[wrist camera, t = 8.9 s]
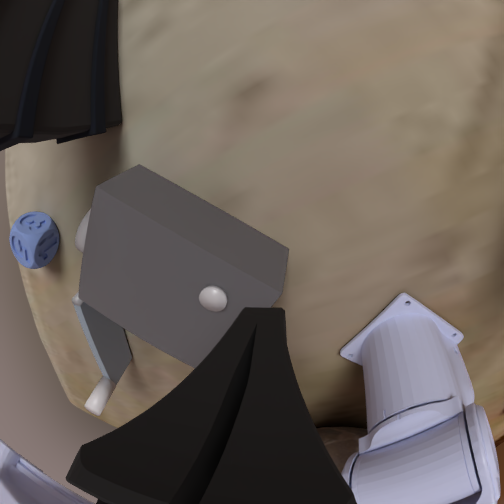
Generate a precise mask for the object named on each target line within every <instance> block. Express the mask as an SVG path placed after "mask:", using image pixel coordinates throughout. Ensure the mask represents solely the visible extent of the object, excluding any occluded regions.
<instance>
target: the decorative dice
mask: <svg viewBox="0 0 504 504" xmlns="http://www.w3.org/2000/svg"><path fill="white" fill-rule="evenodd" d="M10 246H11V249H12V251H13V254H14V255H15V257H16V258H17V260H18V261H19V262H20V263H21V264H22V265H23V266H25V267H27V268H31V269H37V268H41V267H44V266H46V265H47V264H48V263H49V262H50V261H51V260H52V259H53V257H54V256H55V254H56V252H57V249H58V246H59V233H58V229H57V227H56V225H55V223H54V221H53V220H52V219H51V218H50V217H49V216H48V215H47V214H45V213H42V212H29V213H26V214H23V215H22V216H20V217H19V218H18V219H17V220H16V221H15V223H14V225H13V227H12V229H11V232H10Z"/></svg>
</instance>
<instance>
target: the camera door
mask: <svg viewBox="0 0 504 504" xmlns="http://www.w3.org/2000/svg"><path fill="white" fill-rule="evenodd" d="M78 294H79V292H78V293H77V294H76V295H75V296H74V297H73V298H72V302H73V304H74V307H75V310H76V313H77V315H78V318H79V321H80V323H81V326H82V329H83V331H84V334H85V336H86V338H87V341H88V343H89V346H90V348H91V350H92V352H93V355H94V357H95V359H96V361H97V364H98V366H99V368H100V370H101V372H102V374H103V377H102V378H101V379H100V381H99V382H98V384H97V386H96V387H95V389H94V390H93V392H92V394H91V395H90V397H89V399H88V400H87V402H86V404H85V405H84V406H85V408H86V409H87V410H88V411H90V412H91V413H93V414H95V415H97V416H100V414H101V412H102V411H103V409H104V407H105V405H106V403H107V402H108V400H109V398H110V396H111V395H112V393H113V391H114V389H115V388H116V385H117V383H118V381H119V380H120V378H121V376H122V374H123V373H124V371H125V369H126V368H127V366H128V364H129V363H130V361H131V359H132V356H131V353H130V350H129V346H128V343H127V340H126V337H125V333H124V330H123V327H121V326H120V325H118V324H116V323H115V322H113V321H112V320H110V319H109V318H107V317H106V316H104V315H103V314H101V313H100V312H98V311H97V310H95V309H94V308H92V307H91V306H89V305H88V304H86V303H85V302H84V301H82V300H81V299H79V298H78Z"/></svg>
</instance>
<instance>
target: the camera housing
mask: <svg viewBox="0 0 504 504" xmlns="http://www.w3.org/2000/svg"><path fill="white" fill-rule="evenodd" d="M75 246H76V248H77V249H78V250H79V251H81V252H82V253H83V258H82V266H81V274H80V284H79V294H78V298H79V299H81V300H82V301H84V302H85V303H86V304H88V305H89V306H91V307H92V308H94V309H95V310H97V311H98V312H100V313H101V314H103V315H104V316H106V317H107V318H109V319H110V320H112V321H113V322H115V323H116V324H118V325H120V326H121V327H123V328H124V329H126V330H128V331H129V332H131V333H132V334H134V335H136V336H137V337H139V338H141V339H142V340H144V341H146V342H148V343H149V344H151V345H153V346H155V347H156V348H158V349H160V350H162V351H163V352H165V353H167V354H169V355H171V356H173V357H174V358H176V359H178V360H180V361H182V362H184V363H186V364H188V365H190V366H192V367H194V368H196V367H197V366H198V365H199V364H200V363H201V362H202V361H203V360H204V358H205V357H206V356H207V355H208V354H209V353H210V352H211V350H212V349H213V348H214V347H215V346H216V344H217V343H218V342H219V341H220V339H221V338H222V337H223V336H224V334H225V333H226V332H227V330H228V329H229V328H230V326H231V325H232V324H233V322H234V321H235V319H236V318H237V317H238V315H239V314H240V312H241V311H242V309H244V308H245V307H260V308H271V306H272V305H273V304H274V303H275V301H276V300H277V299H278V298H279V297H280V295H281V294H282V292H283V285H284V279H285V272H286V266H287V259H288V252H289V249H288V248H287V247H285V246H283V245H282V244H280V243H278V242H276V241H275V240H273V239H271V238H270V237H268V236H266V235H264V234H263V233H261V232H259V231H257V230H256V229H254V228H252V227H251V226H249V225H247V224H245V223H244V222H242V221H240V220H238V219H237V218H235V217H233V216H231V215H230V214H228V213H226V212H224V211H222V210H221V209H219V208H217V207H215V206H214V205H212V204H210V203H208V202H207V201H205V200H203V199H201V198H199V197H198V196H196V195H194V194H192V193H190V192H189V191H187V190H185V189H183V188H181V187H180V186H178V185H176V184H174V183H172V182H171V181H169V180H167V179H165V178H163V177H162V176H160V175H158V174H156V173H154V172H152V171H151V170H149V169H147V168H145V167H143V166H141V165H140V164H139V165H137V166H135V167H133V168H131V169H129V170H127V171H125V172H123V173H121V174H119V175H117V176H115V177H113V178H111V179H109V180H107V181H105V182H103V183H101V184H99V185H97V186H96V189H95V193H94V197H93V202H92V207H91V209H90V210H89V211H88V212H87V214H86V215H85V216H84V218H83V220H82V221H81V223H80V225H79V228H78V230H77V233H76V238H75Z"/></svg>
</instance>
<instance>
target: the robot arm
mask: <svg viewBox="0 0 504 504" xmlns="http://www.w3.org/2000/svg"><path fill="white" fill-rule="evenodd" d="M406 301H409V302H408V303H405V302H406ZM463 337H464V336H463V334H462V333H461V332H460V331H459V330H457V329H456V328H455V327H453V326H452V325H450V324H449V323H448V322H446V321H445V320H444V319H442V318H441V317H439V316H438V315H437V314H435V313H434V312H432V311H431V310H430V309H428V308H427V307H425V306H424V305H422V304H421V303H420V302H418V301H417V300H415V299H414V298H412V297H411V296H409V295H408V294H406V293H401V294H399V295H398V296H397V297H396V298H395V299H394V300H393V301H392V302H391V303H390V304H389V305H388V306H387V307H386V308H385V309H384V310H383V311H382V312H381V313H380V314H379V315H378V316H377V317H376V318H375V319H374V320H373V321H372V322H371V323H370V324H368V325H367V326H366V327H365V328H364V329H363V330H362V331H361V332H360V333H359V334H358V335H357V336H355V337H354V338H353V339H352V340H351V341H350V342H349V343H348V344H346V345H345V346H344V347H343V348H342V349H341V350H340V355H341V356H342V357H344V358H346V359H348V360H351V361H353V362H355V363H357V364H359V365H362V366H363V373H364V384H365V396H366V411H367V430H368V435H366V436H364V437H362V438H359V451H358V452H355V453H353V454H352V455H351V456H350V457H349V458H348V460H347V462H346V463H345V466H344V468H343V470H342V473H340V471H339V470H338V468H337V466H336V465H335V463H334V461H333V460H332V458H331V456H330V454H329V453H328V451H327V449H326V447H325V445H324V443H323V441H322V439H321V437H320V435H319V433H318V431H317V429H316V427H315V425H314V423H313V421H312V418H311V416H310V414H309V412H308V409H307V407H306V404H305V402H304V399H303V397H302V394H301V392H300V389H299V386H298V383H297V380H296V377H295V374H294V370H293V367H292V364H291V360H290V356H289V351H288V347H287V338H286V321H285V310H284V309H282V308H260V307H245V308H244V309H242V311H241V312H240V314H239V315H238V317H237V318H236V319H235V321H234V322H233V324H232V325H231V326H230V328H229V329H228V330H227V332H226V333H225V334H224V336H223V337H222V338H221V339H220V341H219V342H218V343H217V344H216V346H215V347H214V348H213V349H212V350H211V352H210V353H209V354H208V355H207V356H206V357H205V358H204V360H203V361H202V362H201V363H200V364H199V365H198V366H197V367H196V368H195V369H194V370H193V371H192V372H191V373H190V374H189V375H188V376H187V377H186V378H185V379H184V380H183V381H182V382H181V383H180V384H179V385H178V386H177V387H175V388H174V389H173V390H172V391H171V392H170V393H169V394H167V395H166V396H165V397H163V398H162V399H161V400H160V401H158V402H157V403H156V404H155V405H153V406H152V407H151V408H149V409H148V410H146V411H145V412H143V413H142V414H140V415H139V416H137V417H136V418H134V419H132V420H131V421H129V422H128V423H126V424H124V425H123V426H121V427H119V428H117V429H116V430H114V431H112V432H110V433H108V434H106V435H104V436H102V437H100V438H97V439H96V440H93V441H91V442H89V443H86V444H84V445H82V446H81V448H80V450H79V451H78V453H77V455H76V457H75V459H74V461H73V463H72V465H71V468H70V470H69V472H68V474H67V476H66V480H67V481H68V482H69V483H70V484H72V485H74V486H76V487H78V488H79V489H81V490H83V491H84V492H86V493H88V494H90V495H92V496H94V497H96V498H98V501H97V503H96V504H497V500H498V499H499V497H500V479H499V467H498V460H497V454H496V449H495V445H494V440H493V436H492V433H491V429H490V426H489V422H488V419H487V416H486V413H485V411H484V408H483V407H482V406H479V405H476V404H475V403H474V390H473V387H472V384H471V381H470V378H469V375H468V372H467V369H466V367H465V364H464V361H463V359H462V356H461V353H460V351H459V348H458V346H457V344H458V343H459V342H460V341H462V339H463ZM0 504H95V503H93V502H91V501H89V500H87V499H85V498H83V497H82V496H80V495H78V494H76V493H74V492H73V491H71V490H70V489H68V488H66V487H65V486H63V485H61V484H60V483H58V482H57V481H55V480H54V479H52V478H51V477H49V476H47V475H46V474H45V473H43V471H42V470H40V469H39V468H37V467H36V466H34V465H33V464H32V463H31V462H29V461H28V460H27V459H25V458H24V457H22V456H21V455H20V454H18V453H17V452H15V451H14V450H13V449H12V448H10V447H9V446H8V445H7V444H6V443H5V442H3V441H2V440H1V439H0Z"/></svg>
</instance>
